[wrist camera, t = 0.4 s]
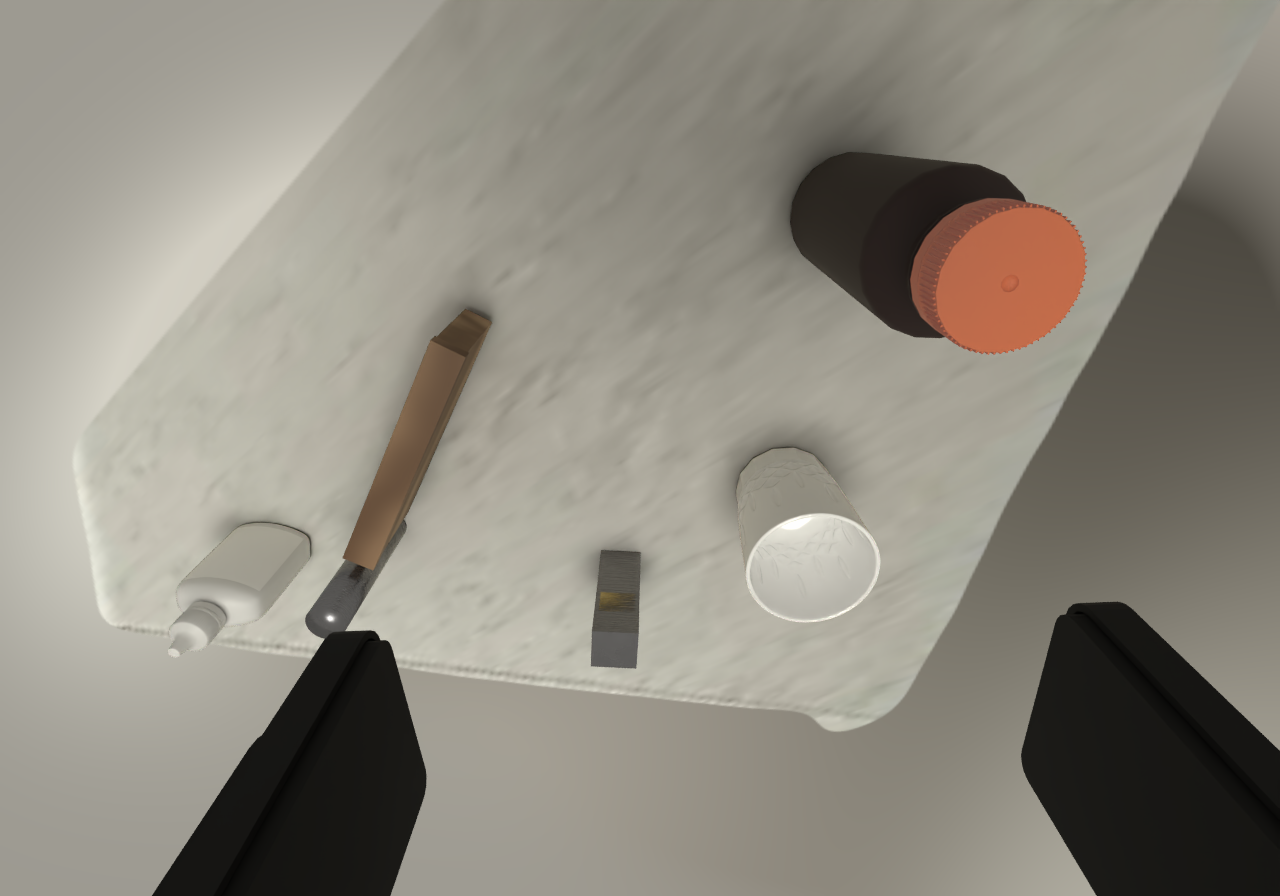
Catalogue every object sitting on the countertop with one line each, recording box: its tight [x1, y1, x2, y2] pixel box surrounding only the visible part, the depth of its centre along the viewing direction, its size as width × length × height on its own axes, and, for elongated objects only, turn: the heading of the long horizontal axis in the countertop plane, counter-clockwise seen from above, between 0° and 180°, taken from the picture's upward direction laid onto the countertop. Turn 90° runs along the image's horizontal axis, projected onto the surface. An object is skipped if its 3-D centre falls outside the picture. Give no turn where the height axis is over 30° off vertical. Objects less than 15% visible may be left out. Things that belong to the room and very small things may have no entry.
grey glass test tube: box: [305, 520, 406, 638], centre depth 45 cm, size 2×2×11 cm
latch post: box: [591, 550, 640, 668], centre depth 47 cm, size 3×3×9 cm
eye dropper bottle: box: [168, 523, 310, 657], centre depth 45 cm, size 4×6×12 cm
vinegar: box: [790, 152, 1087, 355], centre depth 30 cm, size 7×7×20 cm
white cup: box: [736, 447, 880, 622], centre depth 43 cm, size 8×8×10 cm
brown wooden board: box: [343, 309, 492, 570], centre depth 41 cm, size 2×16×7 cm, turn 152°
